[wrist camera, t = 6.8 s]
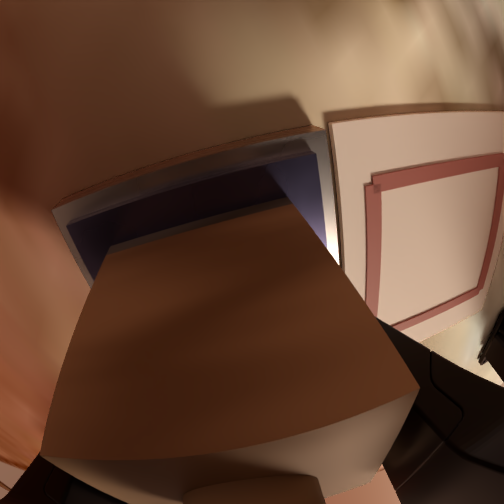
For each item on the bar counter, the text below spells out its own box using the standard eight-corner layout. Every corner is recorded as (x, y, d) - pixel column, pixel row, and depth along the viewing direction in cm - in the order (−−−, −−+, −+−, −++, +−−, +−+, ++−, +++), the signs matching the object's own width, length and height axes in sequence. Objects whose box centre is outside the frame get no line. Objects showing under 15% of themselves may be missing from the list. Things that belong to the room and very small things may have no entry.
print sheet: (511, 111, 9) (517, 113, 8) (479, 306, 15) (482, 310, 15) (328, 122, 8) (332, 124, 8) (342, 368, 15) (345, 373, 14)
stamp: (287, 196, 8) (475, 490, 1) (307, 328, 10) (387, 528, 4) (110, 246, 8) (30, 543, 1) (173, 361, 10) (183, 567, 4)
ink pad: (312, 125, 8) (331, 131, 7) (332, 319, 12) (344, 342, 11) (63, 198, 8) (45, 215, 7) (154, 364, 12) (153, 389, 11)
